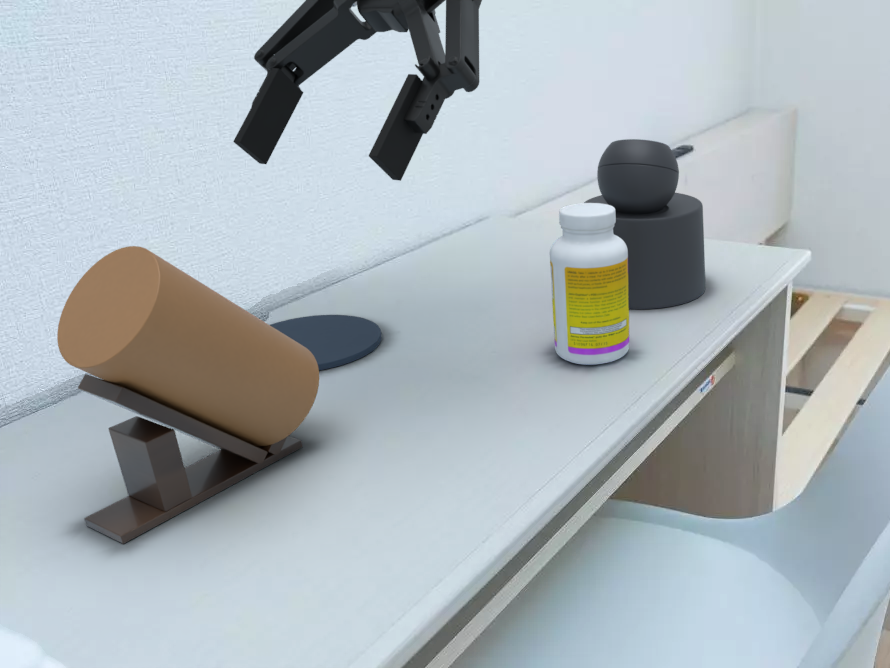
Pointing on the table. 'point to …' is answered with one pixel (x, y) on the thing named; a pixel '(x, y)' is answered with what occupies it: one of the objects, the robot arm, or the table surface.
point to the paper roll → (186, 347)
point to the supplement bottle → (589, 286)
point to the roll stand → (168, 462)
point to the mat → (333, 337)
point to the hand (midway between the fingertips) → (313, 161)
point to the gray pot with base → (653, 223)
